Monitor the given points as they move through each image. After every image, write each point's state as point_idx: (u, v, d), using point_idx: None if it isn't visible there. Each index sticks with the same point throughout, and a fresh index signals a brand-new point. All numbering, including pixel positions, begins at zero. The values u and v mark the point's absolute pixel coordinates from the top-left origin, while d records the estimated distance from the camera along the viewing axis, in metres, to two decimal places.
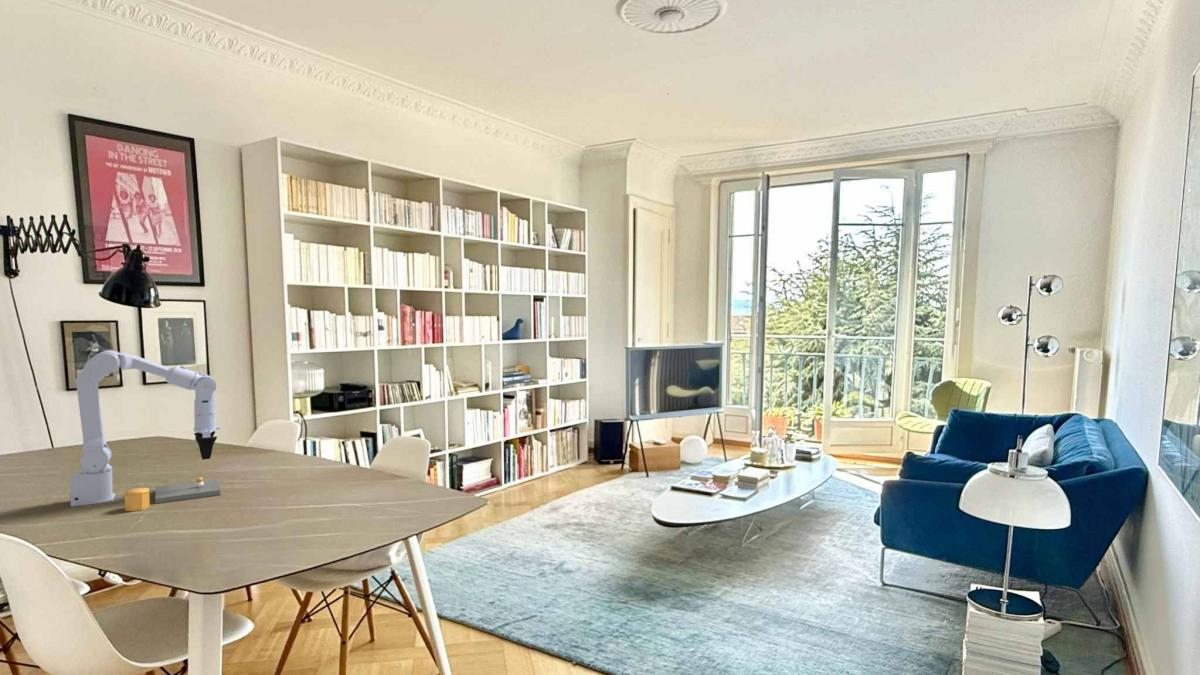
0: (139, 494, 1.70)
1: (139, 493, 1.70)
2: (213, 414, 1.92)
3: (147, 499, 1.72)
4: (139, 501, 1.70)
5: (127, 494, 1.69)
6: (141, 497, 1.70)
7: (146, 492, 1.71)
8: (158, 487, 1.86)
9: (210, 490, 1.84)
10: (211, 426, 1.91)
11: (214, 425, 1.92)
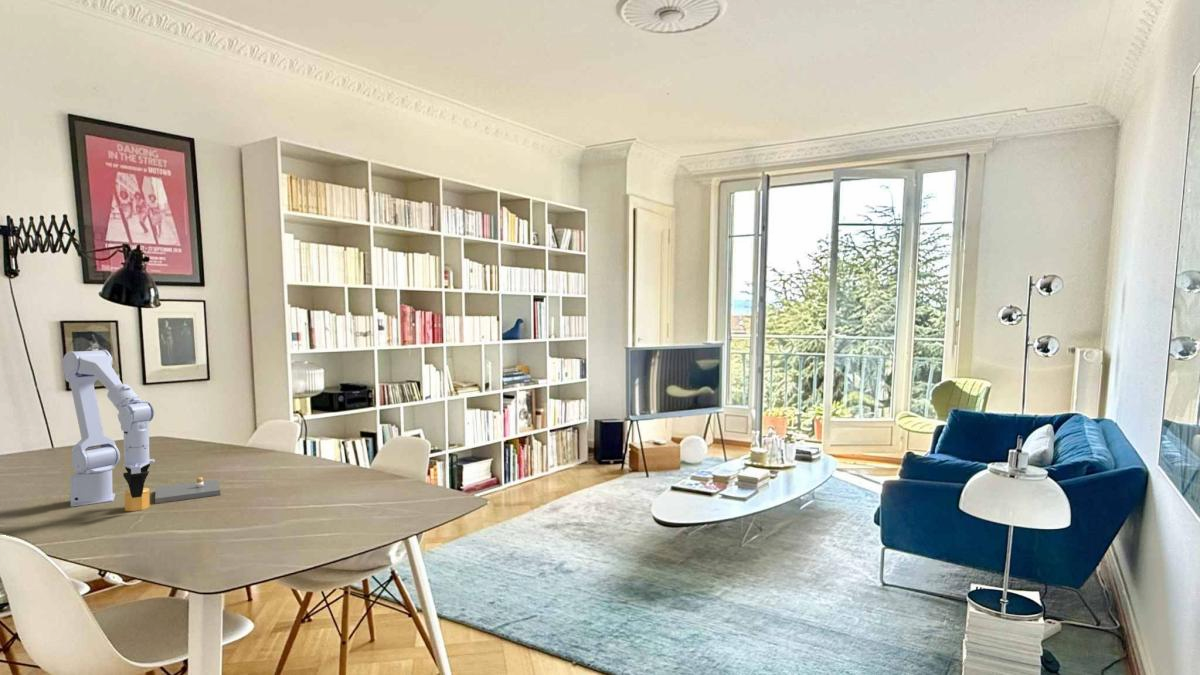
0: None
1: None
2: (145, 446, 1.71)
3: (147, 499, 1.72)
4: (139, 501, 1.70)
5: (127, 494, 1.69)
6: (141, 497, 1.70)
7: (146, 492, 1.71)
8: (158, 487, 1.86)
9: (210, 490, 1.84)
10: (143, 460, 1.70)
11: (147, 458, 1.71)
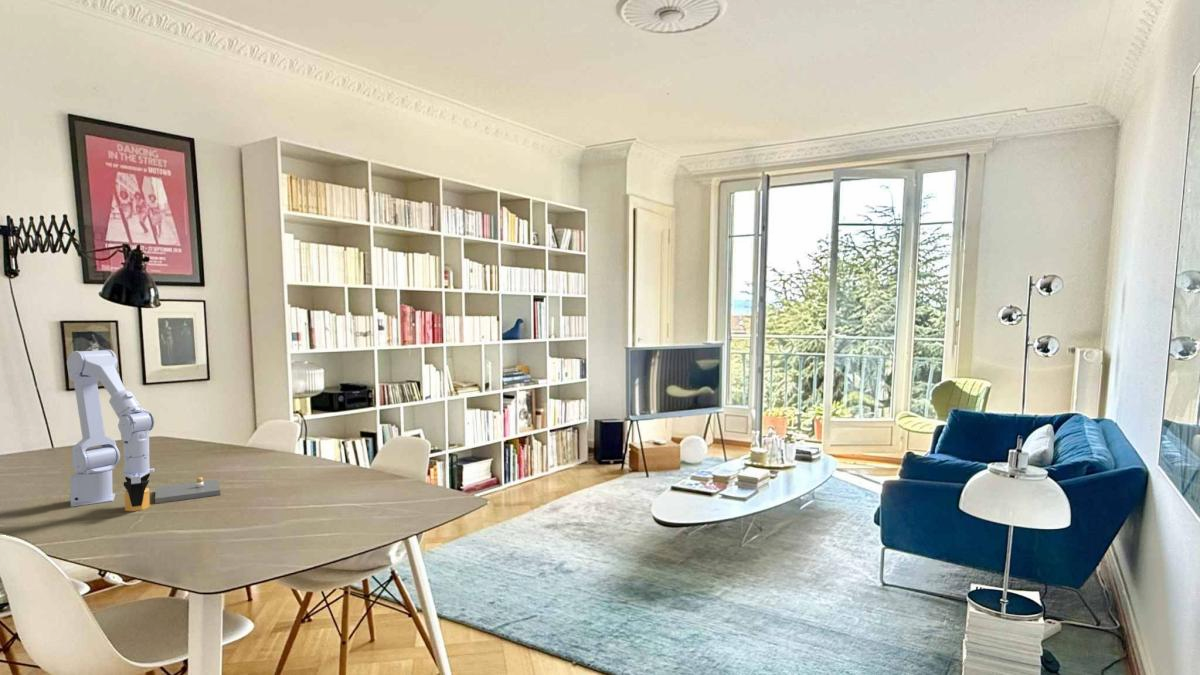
0: None
1: None
2: (145, 456, 1.71)
3: (147, 499, 1.72)
4: None
5: (127, 494, 1.69)
6: None
7: (146, 492, 1.71)
8: (158, 487, 1.86)
9: (210, 490, 1.84)
10: (143, 469, 1.70)
11: (147, 468, 1.71)
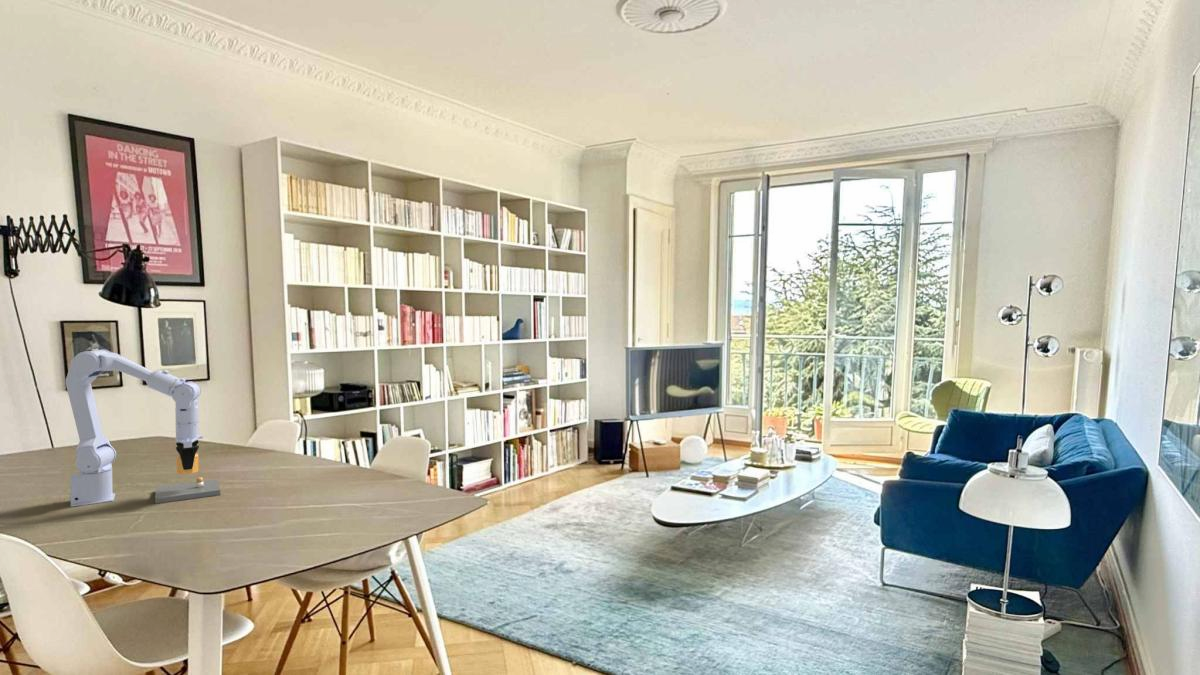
0: None
1: None
2: (195, 423, 1.83)
3: (197, 463, 1.84)
4: None
5: (179, 458, 1.81)
6: None
7: (196, 457, 1.84)
8: (158, 487, 1.86)
9: (210, 490, 1.84)
10: (193, 435, 1.82)
11: (196, 434, 1.84)
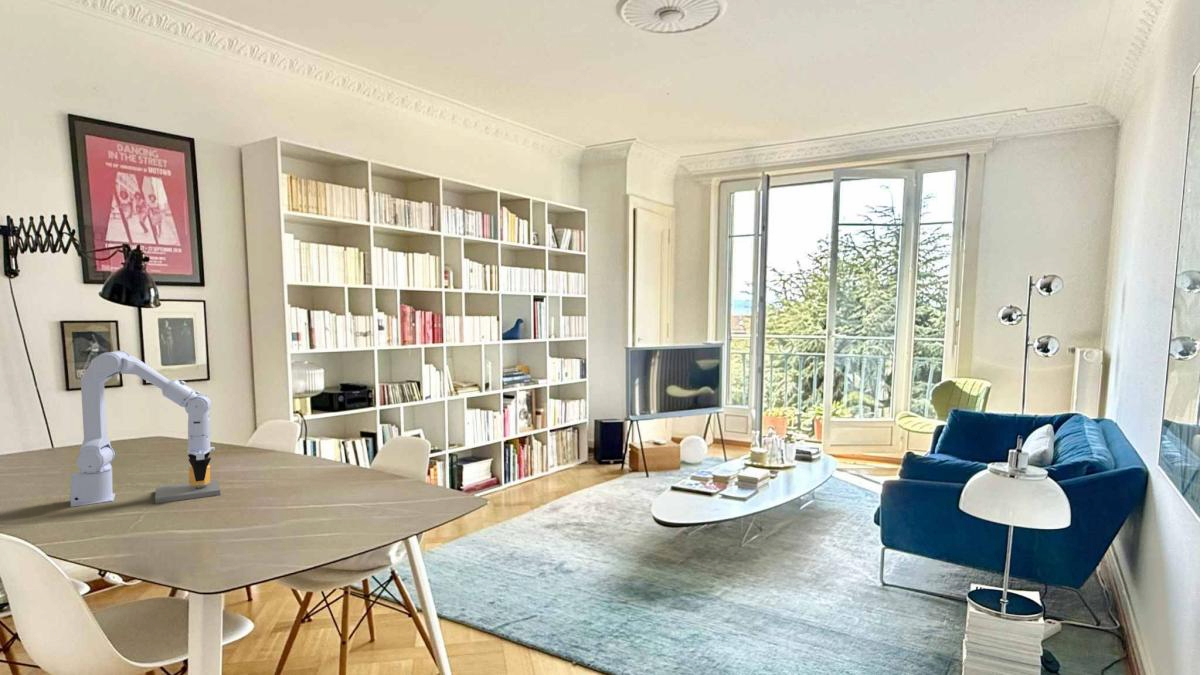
0: None
1: None
2: (207, 435, 1.87)
3: (208, 475, 1.88)
4: None
5: (191, 470, 1.85)
6: None
7: (208, 468, 1.87)
8: (158, 487, 1.86)
9: (210, 490, 1.84)
10: (205, 447, 1.86)
11: (208, 446, 1.87)
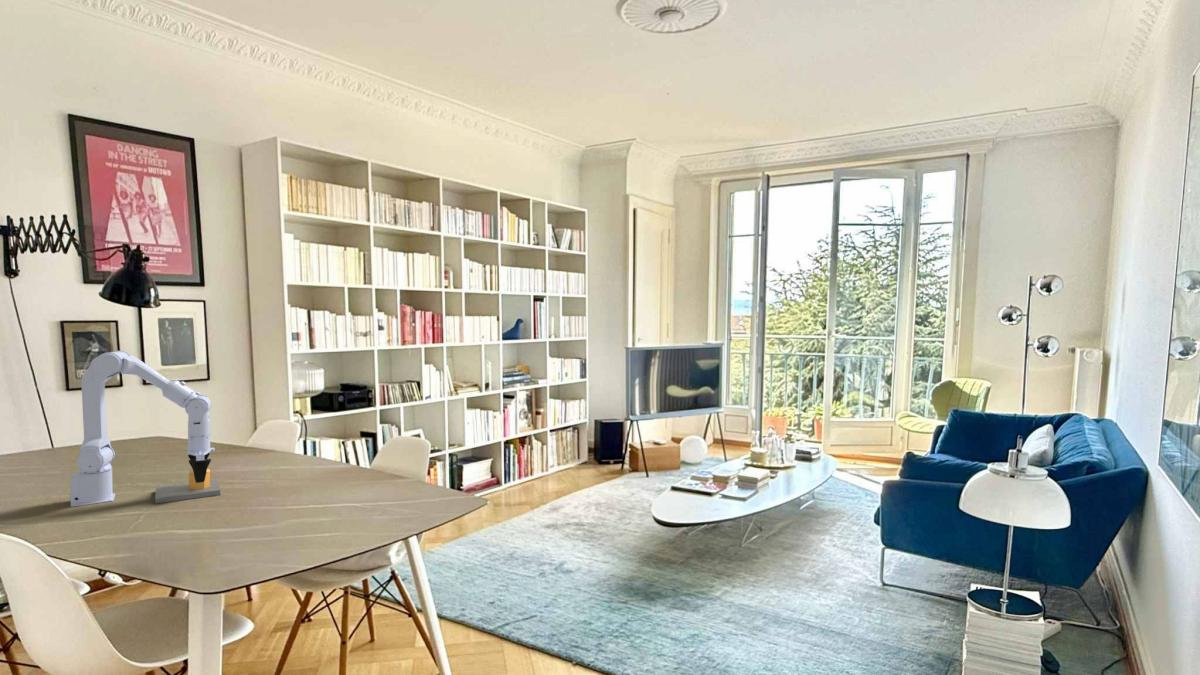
0: None
1: None
2: (207, 436, 1.87)
3: (208, 479, 1.88)
4: None
5: (191, 474, 1.85)
6: None
7: (207, 472, 1.87)
8: (158, 487, 1.86)
9: (210, 490, 1.84)
10: (205, 448, 1.86)
11: (208, 447, 1.87)
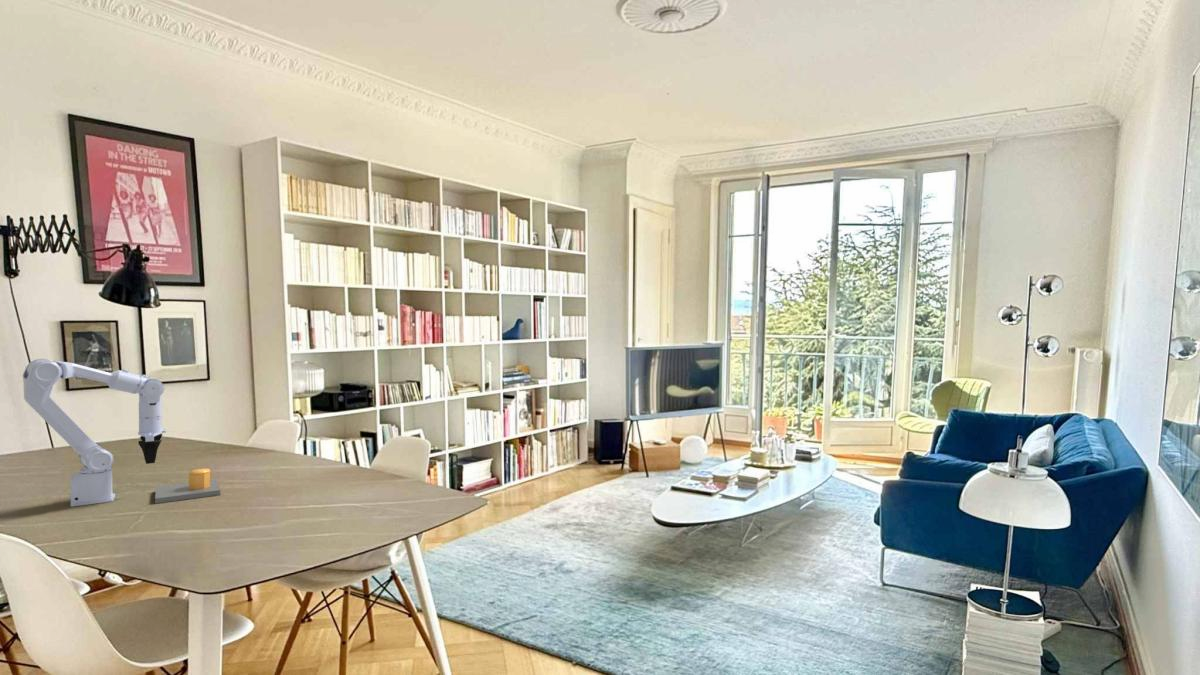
0: (202, 474, 1.86)
1: (202, 473, 1.86)
2: (158, 417, 1.87)
3: (208, 479, 1.88)
4: (202, 480, 1.86)
5: (191, 474, 1.85)
6: (203, 477, 1.86)
7: (207, 472, 1.87)
8: (158, 487, 1.86)
9: (210, 490, 1.84)
10: (156, 429, 1.86)
11: (159, 428, 1.88)
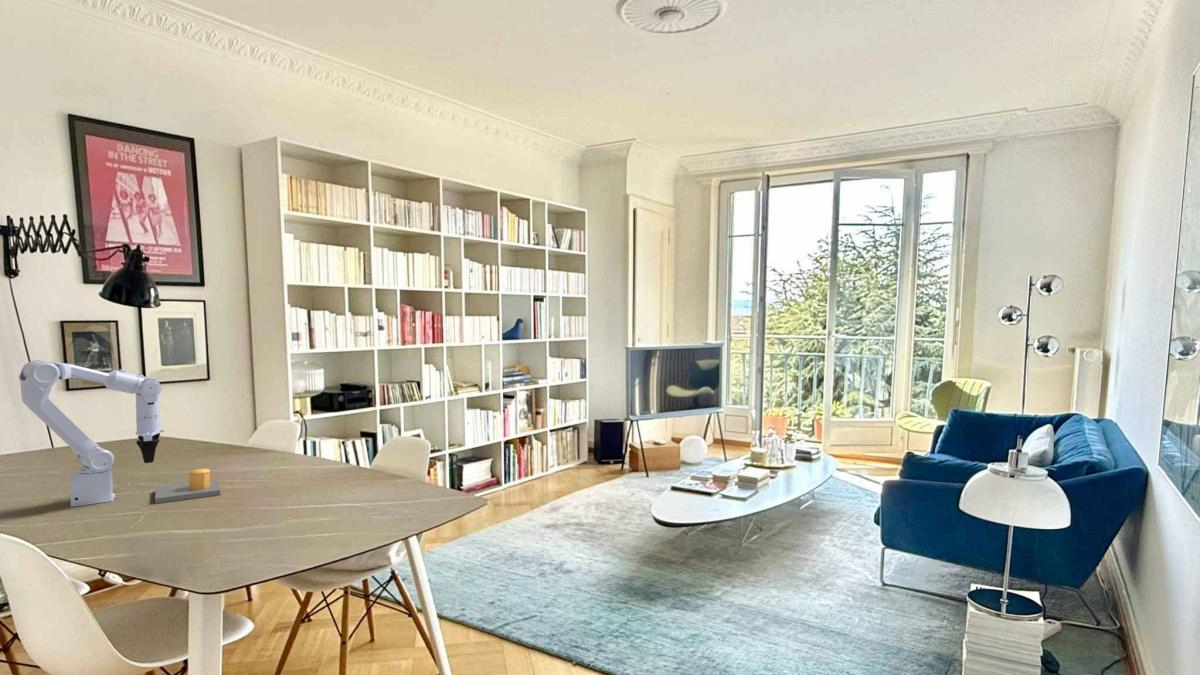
0: (202, 474, 1.86)
1: (202, 473, 1.86)
2: (156, 416, 1.87)
3: (208, 479, 1.88)
4: (202, 480, 1.86)
5: (191, 474, 1.85)
6: (203, 477, 1.86)
7: (207, 472, 1.87)
8: (158, 487, 1.86)
9: (210, 490, 1.84)
10: (154, 429, 1.87)
11: (157, 428, 1.88)
